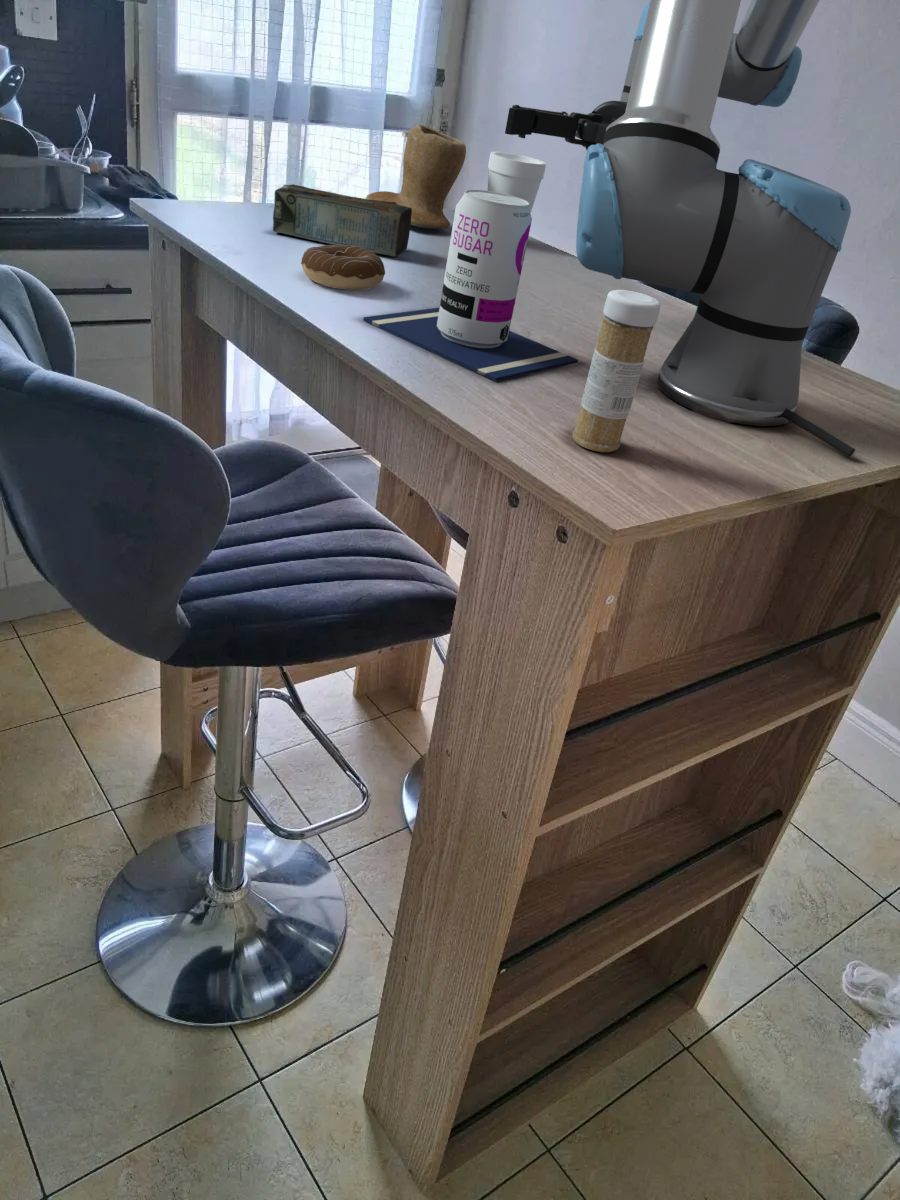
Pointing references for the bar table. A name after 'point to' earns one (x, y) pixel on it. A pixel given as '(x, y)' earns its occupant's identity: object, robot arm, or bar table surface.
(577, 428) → the sprinkles bottle
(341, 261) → the donut
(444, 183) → the tan boot
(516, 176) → the foam cup
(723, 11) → the robot arm
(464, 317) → the white soda can
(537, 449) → the bar table surface
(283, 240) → the bar table surface
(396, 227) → the beverage carton
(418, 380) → the bar table surface
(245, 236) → the bar table surface
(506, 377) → the tea towel
